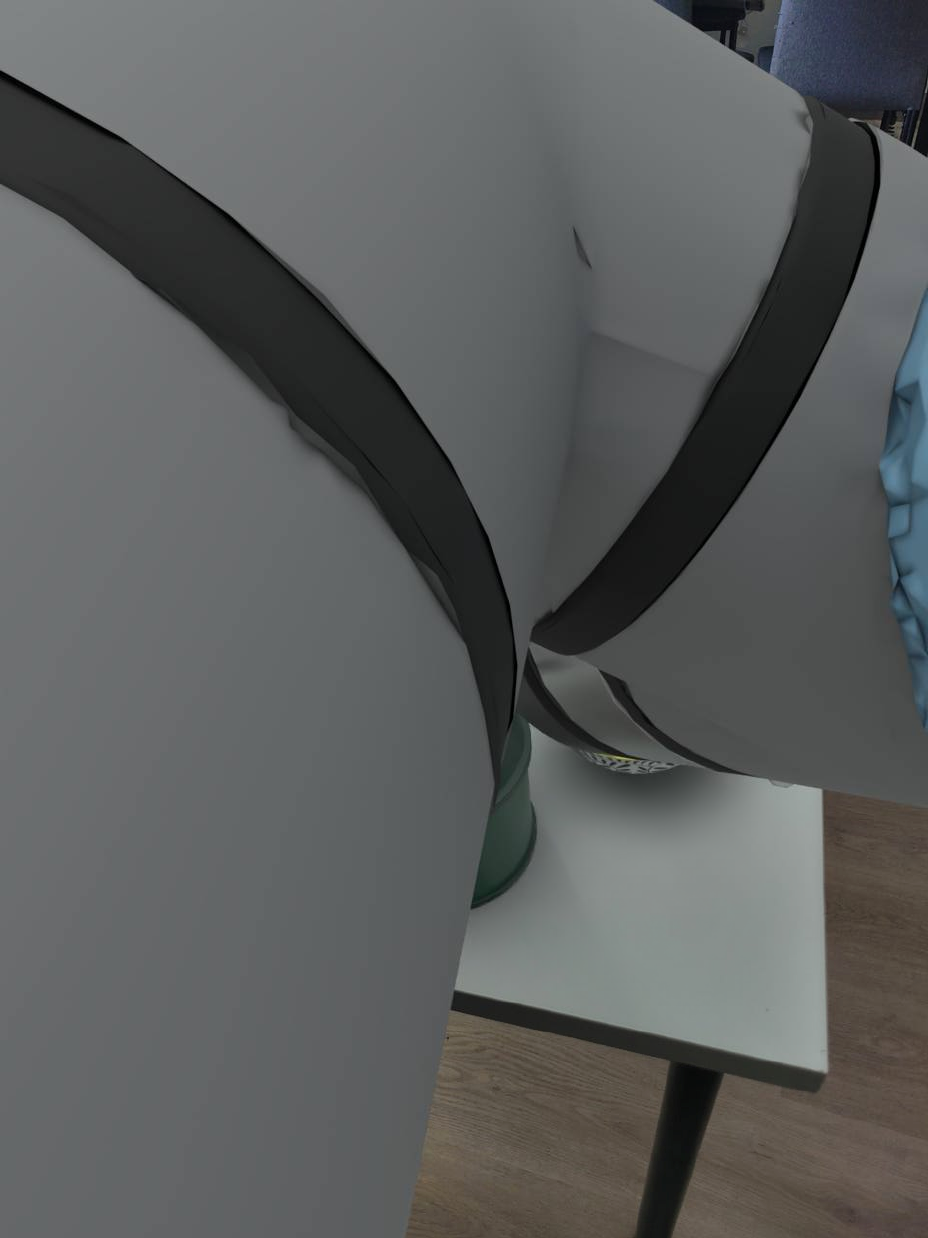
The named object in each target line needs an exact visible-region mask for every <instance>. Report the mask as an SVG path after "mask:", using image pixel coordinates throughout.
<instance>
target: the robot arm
mask: <svg viewBox="0 0 928 1238" xmlns="http://www.w3.org/2000/svg"><path fill="white" fill-rule="evenodd" d="M515 711H516V712H517V713H518V714H519V715H521V716H522V717H523V718H524V719H525V720H526V721H527V722H529V725H531V726H532V727H534V729H536V730H538V731H539V732H541V733H542V734H544V735H545V736H547V737H548V738H550V739H552V740H554V741H556V742H558V743H560V744H562V745H564V746H567V747H569V748H571V749H573V748H575V749H578V750H582V751H586V752H591V753H597V754H603V755H610V756H616V757H622V758H628V759H634V760H642V761H658V762H665V763H673V764H680V765H679V766H688V767H695V768H702V769H709V770H712V771H714V772H718V773H724V774H731V775H738V776H745V777H751V778H758V779H763V780H768V781H769V782H770V783H771V785H773V786H775V787H780V788H784V789H788V788H790V787H792V786H793V785H797V786H803V787H808V788H813V789H819V790H825V791H831V792H835V793H841V794H846V795H853V796H859V797H864V798H867V799H868V798H869V799H874V800H881V801H886V802H891V803H897V804H902V805H908V806H913V807H919V808H925V809H928V157H927V156H926V155H923V154H922V153H920V152H919V151H918V150H916V149H914V148H913V147H911V146H910V145H908V144H907V143H904V142H902V140H899V139H897V138H896V137H894V136H893V135H890V133H887V132H885V131H884V130H882V129H880V128H879V127H876V126H875V125H873V124H871V123H869V122H867V121H864V120H861V119H857V118H853V117H850V118H847V117H845V116H843V114H841V113H839V112H837V111H836V110H834V109H833V108H831V107H829V106H827V105H826V104H825V103H823V102H821V101H820V100H818V99H817V98H815V97H813V96H812V95H805V94H803V93H801V92H799V91H797V90H796V89H794V88H792V87H791V86H789V85H788V84H786V83H784V82H783V81H781V80H779V79H778V78H776V77H775V76H773V75H772V74H771V73H769V72H767V71H765V70H764V69H762V68H760V67H759V66H757V65H756V64H755V63H753V62H751V61H749V60H748V59H746V58H745V57H743V56H742V55H740V54H738V53H737V52H735V51H733V50H732V49H731V48H729V47H727V46H725V45H724V44H722V43H721V42H720V41H718V40H716V39H715V38H713V37H711V36H710V35H709V34H708V33H705V32H704V31H702V30H700V29H699V28H698V27H696V26H694V25H693V24H691V23H690V22H688V21H687V20H684V19H683V18H681V17H680V16H679V15H677V14H676V13H674V12H672V11H670V10H669V9H667V8H666V7H664V6H662V5H661V4H659V3H657V2H656V1H655V0H0V1238H407V1231H408V1227H409V1221H410V1217H411V1211H412V1207H413V1202H414V1197H415V1193H416V1192H415V1191H416V1186H417V1181H418V1176H419V1171H420V1166H421V1161H422V1156H423V1151H424V1146H425V1140H426V1137H427V1131H428V1127H429V1119H430V1114H431V1110H432V1105H433V1100H434V1095H435V1090H436V1085H437V1079H438V1075H439V1070H440V1064H441V1060H442V1055H443V1048H444V1045H445V1039H446V1034H447V1029H448V1024H449V1019H450V1014H451V1010H452V1004H453V998H454V993H455V990H456V989H455V988H456V984H457V983H456V982H457V978H458V972H459V969H460V963H461V959H462V953H463V948H464V943H465V938H466V932H467V928H468V922H469V918H470V912H471V909H470V908H471V903H472V898H473V892H474V887H475V882H476V877H477V872H478V867H479V862H480V857H481V852H482V847H483V842H484V837H485V832H486V826H487V822H488V820H489V818H490V816H491V815H492V813H493V811H494V807H495V803H496V799H497V795H498V791H499V787H500V784H501V769H500V764H501V763H502V761H503V760H504V756H505V752H506V748H507V743H508V739H509V735H510V731H511V727H512V722H513V718H514V713H515Z"/></svg>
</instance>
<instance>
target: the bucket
mask: <svg viewBox="0 0 928 1238" xmlns="http://www.w3.org/2000/svg"><path fill="white" fill-rule="evenodd" d="M532 741H533V740H532V730H531V726H530V723H529V722H527V721H526V720H525V719H524V718H523V717H522V716H521V715H519V714H518V713H517V712H516V711H515V713H514V718H513V722H512V727H511V731H510V735H509V739H508V743H507V748H506V752H505V756H504V760H503V761H502V763H501V764H500V769H501V784H500V787H499V791H498V795H497V799H496V803H495V807H494V811H493V813H492V815H491V816H490V818H489V820H488V822H487V826H486V832H485V837H484V842H483V847H482V852H481V857H480V862H479V867H478V872H477V877H476V882H475V887H474V892H473V898H472V903H471V908H470V910H472V909H474V908H479V907H481V906H483V905H485V904H488V903H489V902H491V901H493V900H494V899H496V898H498V897H500V896H501V895H503V894H504V893H505V892H506V891H507V890H509V889H510V888H511V887H512V886H513V885H514V884H515V883H516V882H517V881H518V880H519V879H520V878H521V876H522V875H523V873H524V872H525V871H526V869H527V867H528V865H529V864H530V862H531V861H532V860H531V859H532V857H533V856H534V852H535V848H536V844H537V837H538V824H537V823H538V822H537V815H536V810H535V807H534V805H533V802H532V798H531V787H530V786H531V785H530V775H529V768H530V764H531V760H532V754H533V753H532V751H533V742H532Z"/></svg>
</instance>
